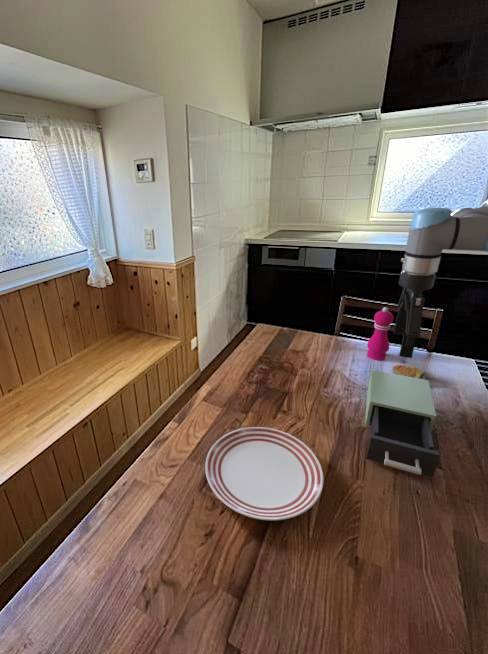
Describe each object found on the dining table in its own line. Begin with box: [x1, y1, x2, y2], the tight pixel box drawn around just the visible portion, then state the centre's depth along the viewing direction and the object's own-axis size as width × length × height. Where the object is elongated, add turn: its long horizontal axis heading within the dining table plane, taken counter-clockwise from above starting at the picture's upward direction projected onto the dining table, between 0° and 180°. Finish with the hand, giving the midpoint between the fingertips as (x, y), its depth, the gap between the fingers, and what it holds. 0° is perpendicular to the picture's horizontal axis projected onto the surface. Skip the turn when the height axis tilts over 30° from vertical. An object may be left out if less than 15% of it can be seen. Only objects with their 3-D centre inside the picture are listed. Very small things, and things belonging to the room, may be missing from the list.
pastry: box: [392, 364, 427, 380], centre depth 114 cm, size 9×7×4 cm
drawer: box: [365, 405, 441, 479], centre depth 83 cm, size 20×14×7 cm
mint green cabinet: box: [364, 369, 437, 433], centre depth 96 cm, size 17×15×9 cm
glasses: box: [245, 354, 295, 393], centre depth 117 cm, size 13×13×5 cm
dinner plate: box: [204, 426, 324, 522], centre depth 81 cm, size 28×27×3 cm
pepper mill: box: [366, 306, 394, 361], centre depth 123 cm, size 7×7×20 cm
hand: (401, 344), depth 94 cm, fingers open, 13 cm apart
